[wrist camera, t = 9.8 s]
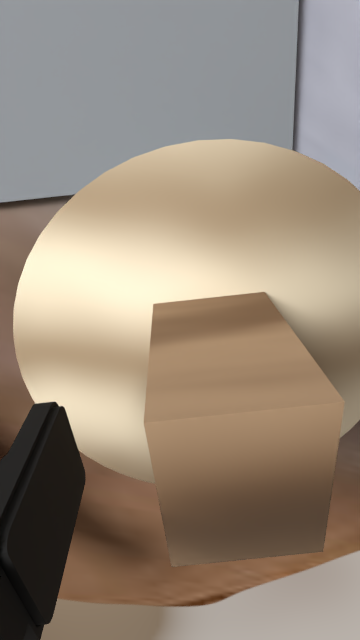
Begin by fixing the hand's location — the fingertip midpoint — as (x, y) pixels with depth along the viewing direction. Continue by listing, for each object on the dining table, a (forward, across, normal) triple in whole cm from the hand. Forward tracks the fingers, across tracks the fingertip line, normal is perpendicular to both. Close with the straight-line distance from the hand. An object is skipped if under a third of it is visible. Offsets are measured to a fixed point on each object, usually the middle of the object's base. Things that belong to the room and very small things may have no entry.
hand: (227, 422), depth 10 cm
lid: (+5, 0, 0) cm, 5 cm away
